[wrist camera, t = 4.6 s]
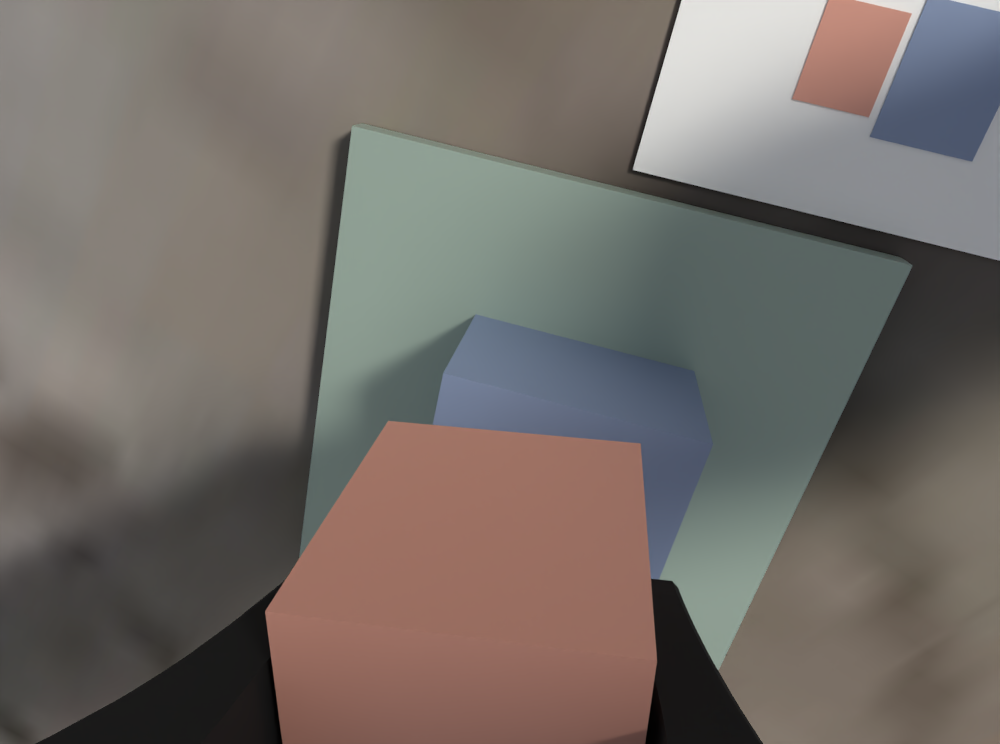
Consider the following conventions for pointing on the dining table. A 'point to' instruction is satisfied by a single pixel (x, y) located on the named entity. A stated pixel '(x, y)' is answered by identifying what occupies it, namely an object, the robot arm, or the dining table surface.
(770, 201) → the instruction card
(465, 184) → the plate
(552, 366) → the base brick
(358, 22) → the dining table surface
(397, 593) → the top brick
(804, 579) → the dining table surface
